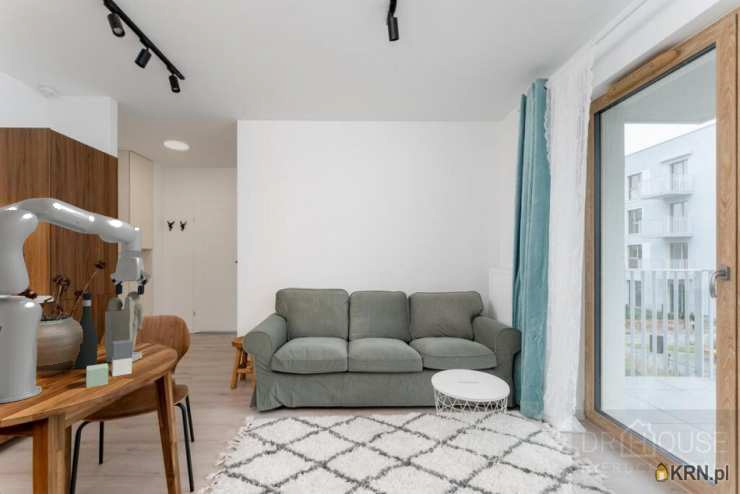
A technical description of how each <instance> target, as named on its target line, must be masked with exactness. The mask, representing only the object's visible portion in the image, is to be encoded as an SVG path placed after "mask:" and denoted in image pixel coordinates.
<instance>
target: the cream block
mask: <svg viewBox="0 0 740 494" xmlns="http://www.w3.org/2000/svg"><path fill="white" fill-rule="evenodd" d="M132 370H133V362H132V358H127V359H120V360H113V358H112V362H111V375H112V377H117V376H124V375H129V374H132V373H133V371H132Z"/></svg>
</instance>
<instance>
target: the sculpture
mask: <svg viewBox="0 0 740 494" xmlns="http://www.w3.org/2000/svg"><path fill="white" fill-rule="evenodd" d="M140 301H141V295H138V290H133V291H130V292H128V294H127V297H125V299H124V303H123V301H122V298H120V297H112V298H110V299H109V300H108V304H107V311H105V312H104V349H105V350H104V351H105V362H106V363H112V342H113V341H121V340H130V339H131V341H132V342H133V345H132V363H133V362H135V361H137V360H139V359H142V358H143V352H142V351H135V349H136V343H137V336H138V333H139V331H141V330H142V329H143V322H144V304H143V303H142V302H141V303H140ZM123 304H124V305H123Z"/></svg>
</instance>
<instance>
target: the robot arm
mask: <svg viewBox="0 0 740 494" xmlns="http://www.w3.org/2000/svg"><path fill="white" fill-rule="evenodd" d="M39 223H47V224H48V223H49V224H52V225H54V226H58V227H62V228H65V229H68V230H70V231H74V232H77V233H80V234H81V233H82V234H86V235H87V234H88V235H98V237H99V238H100V239H101V240H102V241H103V242H106V243H110V244H111V243H113V244H117V243H120V252H118V256H120V257H118V258H117V263H116V268H115V272H113V273H111V274H110V276H109V277H110V279H111V281H112V283H113V284H114V286H115V295H122V294H123V286H124V285H123V283H124V282H136V283H137V284H138V286H137V292H138V295H140V296H141V295H142V296H143V295H144V294H145V286H146V285H147V283H149V280H150V279H151V277H152V276H151V275H150V274H149V273H147V272H145V266H144V260H143V257H142V245H143V244H142V242H143V241H142V240H143V230H142V227H139V226H133V225H132V224H130V223H128V222H125V221H123V220H121V219H117V218H114V217H110V216H107V215H106V216H105V215H103V214H99V213H95V212H91V211H87V210H86V209H83V208H80V207H77V206H75V205H72V204H70V203H68V202H65V201H62V200H60V199H58V198H53V197H39V198H38V197H35V198H28V199H24V200H21V201H18V202H14V203H12V204H8V205H5V206H2V207H0V327H1V329H0V404H5V403H13V402H17V401H23V400H26V399H29V398H33V397H35V396H37V395H39V394H41V392H43V391H42V389H43V387H42V386H39V385H36V384H37V361H38V360H37V359H38V336H39V335H38V334H39V327H40V323H41V320H42V317H43V308H42V306H41V303H39V302H38V301H37V300H34V299H32V298H29V297H20V296H12V295H18V294H21V293H23V292H25V291H26V290H28V287H29V286H30V278H29V274H28V270H27V266H26V262H25V258H24V253H23V247H24V243H25V242H26V240H27V239H28V237H30V235H31V234H32V233H34V232H35V231H36V229H37V228H38V226H39Z"/></svg>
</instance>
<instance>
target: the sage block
mask: <svg viewBox="0 0 740 494" xmlns="http://www.w3.org/2000/svg"><path fill="white" fill-rule="evenodd" d="M85 374H86V376H85V378H86V380H85V387H86V388H92V387H98V386H104V385H109V365H108V362H106V363H100V364H96V365H92V366H87V368H86V373H85Z"/></svg>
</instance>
